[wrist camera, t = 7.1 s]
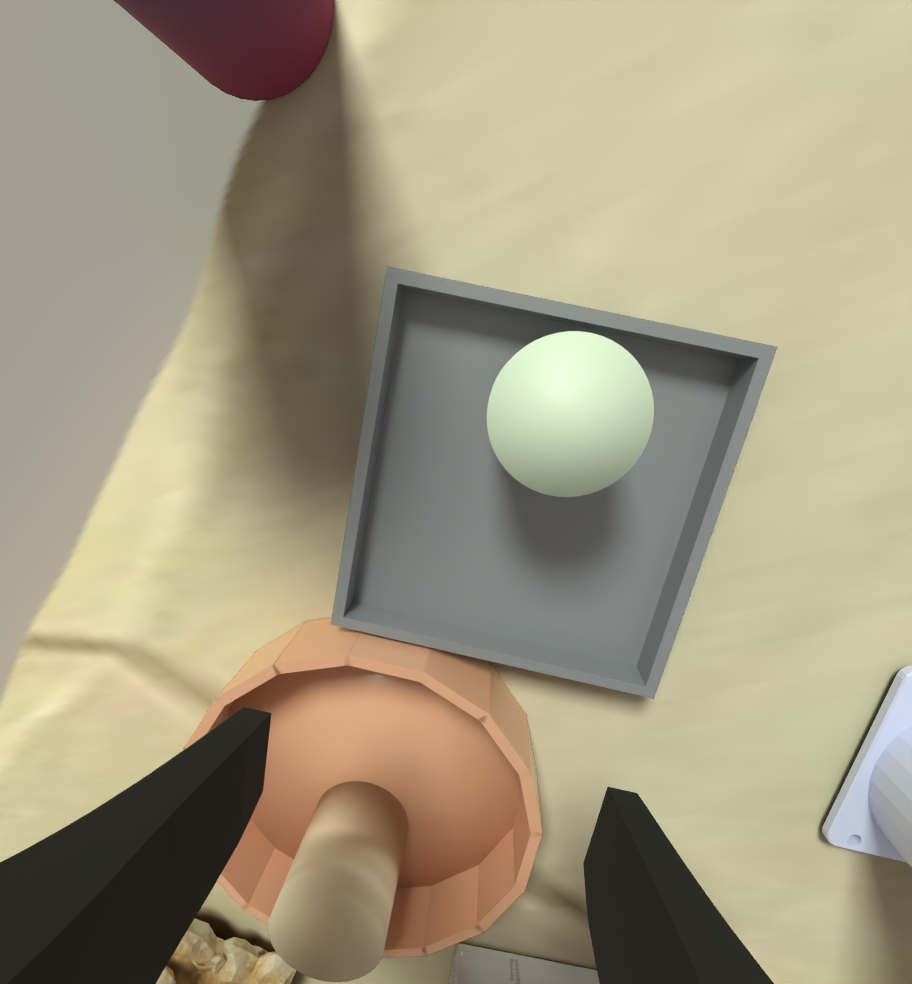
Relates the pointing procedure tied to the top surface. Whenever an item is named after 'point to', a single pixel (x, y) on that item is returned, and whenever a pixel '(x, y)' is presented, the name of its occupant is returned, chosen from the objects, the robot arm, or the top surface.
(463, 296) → the tray
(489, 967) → the coffee box
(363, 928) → the beige rounded cylinder
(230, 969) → the mineral formation
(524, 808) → the bowl
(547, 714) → the top surface
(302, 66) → the cup
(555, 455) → the mint green rounded cylinder
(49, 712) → the top surface
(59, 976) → the robot arm
